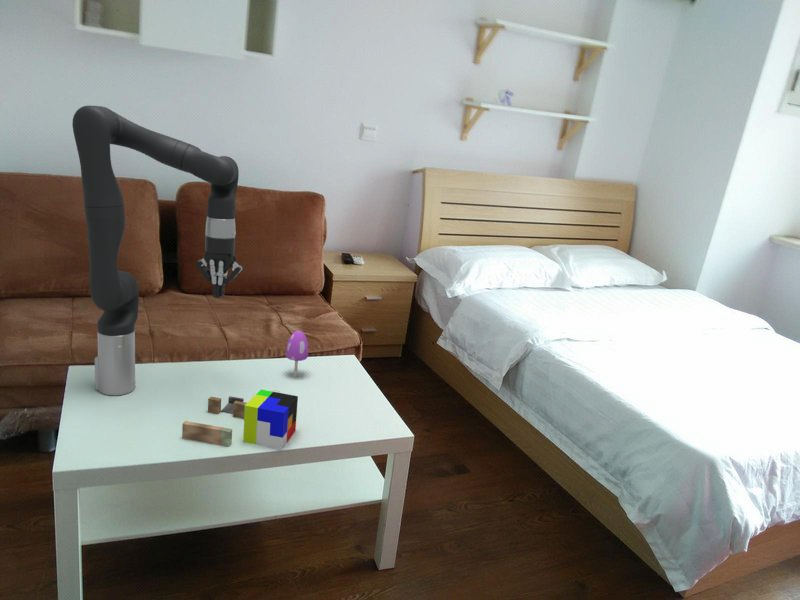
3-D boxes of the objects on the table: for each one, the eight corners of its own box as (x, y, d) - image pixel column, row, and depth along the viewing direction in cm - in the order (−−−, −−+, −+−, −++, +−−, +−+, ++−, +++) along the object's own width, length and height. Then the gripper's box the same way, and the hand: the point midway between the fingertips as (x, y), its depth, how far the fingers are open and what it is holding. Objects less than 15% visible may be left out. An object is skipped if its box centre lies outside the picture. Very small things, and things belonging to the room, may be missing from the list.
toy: (285, 371, 197) (288, 326, 193) (306, 372, 198) (309, 328, 194) (283, 379, 191) (286, 334, 187) (305, 381, 192) (309, 335, 188)
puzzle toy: (281, 449, 152) (284, 413, 150) (243, 442, 154) (244, 405, 151) (295, 431, 162) (297, 396, 159) (259, 424, 163) (260, 389, 161)
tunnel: (182, 438, 152) (182, 423, 151) (219, 401, 173) (219, 387, 172) (229, 446, 151) (229, 431, 150) (260, 408, 172) (261, 394, 171)
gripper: (189, 233, 160) (188, 297, 165) (239, 240, 159) (236, 304, 164) (202, 228, 168) (201, 290, 172) (249, 235, 166) (247, 297, 171)
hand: (218, 297), depth 168 cm, fingers closed
